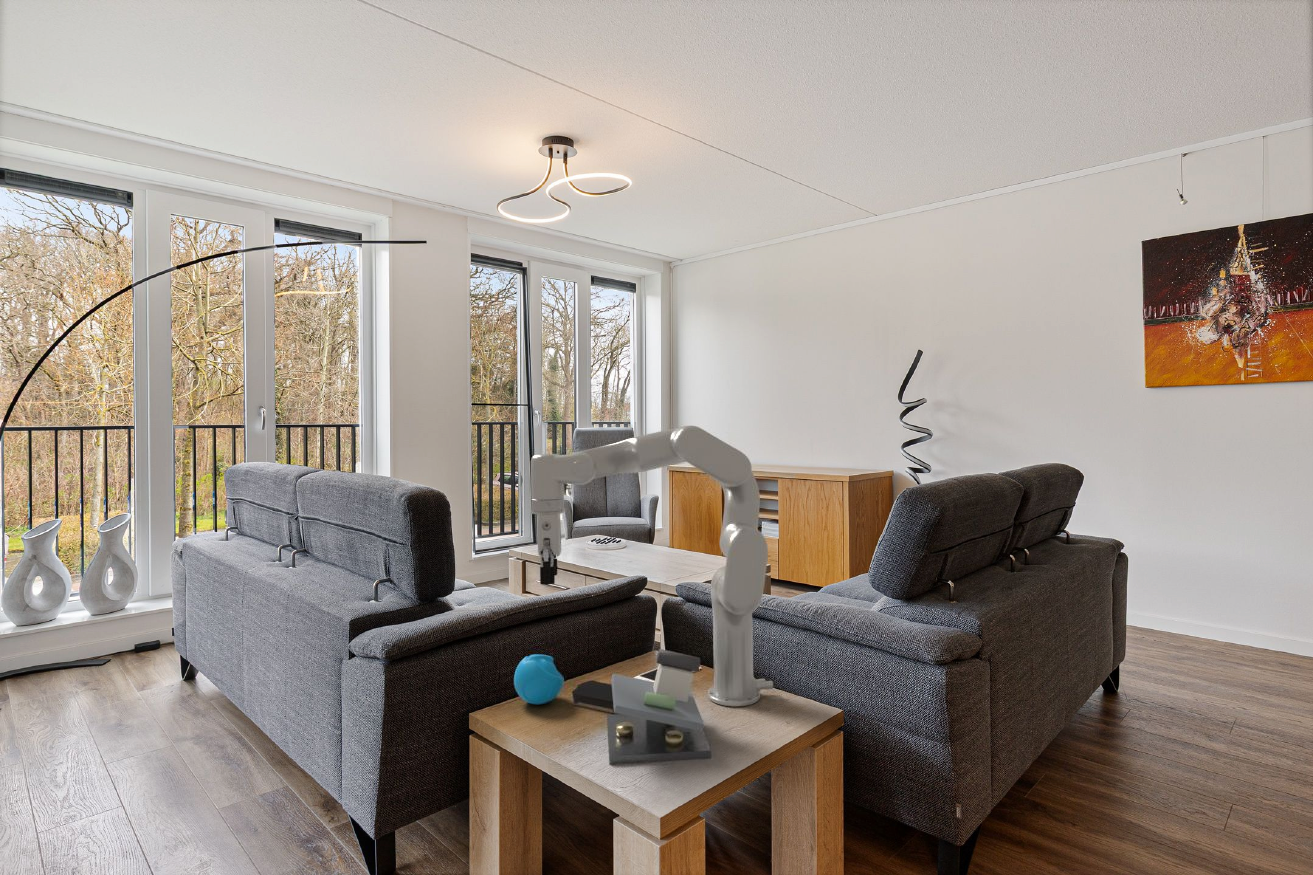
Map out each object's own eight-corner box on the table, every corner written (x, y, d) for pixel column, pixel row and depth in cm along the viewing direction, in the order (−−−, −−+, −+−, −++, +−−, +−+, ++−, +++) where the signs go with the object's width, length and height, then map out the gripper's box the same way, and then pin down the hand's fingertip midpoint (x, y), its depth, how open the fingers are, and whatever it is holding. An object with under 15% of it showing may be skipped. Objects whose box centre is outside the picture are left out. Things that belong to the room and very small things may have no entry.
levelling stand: (695, 716, 154) (694, 692, 154) (710, 757, 134) (710, 731, 134) (606, 721, 152) (606, 697, 152) (609, 764, 132) (608, 737, 132)
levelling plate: (687, 701, 153) (700, 650, 153) (700, 737, 135) (714, 679, 135) (609, 685, 151) (622, 633, 152) (612, 718, 133) (627, 660, 134)
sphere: (571, 705, 162) (570, 656, 162) (526, 716, 156) (525, 666, 156) (550, 689, 172) (549, 643, 172) (506, 700, 166) (506, 652, 165)
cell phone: (702, 670, 185) (702, 667, 185) (657, 689, 172) (657, 685, 172) (677, 663, 191) (677, 660, 191) (632, 680, 178) (632, 677, 178)
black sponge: (643, 705, 162) (643, 689, 162) (624, 718, 155) (624, 702, 155) (587, 693, 170) (587, 678, 170) (567, 705, 163) (566, 690, 163)
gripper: (561, 510, 151) (563, 587, 151) (565, 502, 168) (567, 571, 168) (527, 511, 150) (529, 588, 150) (535, 503, 168) (536, 572, 168)
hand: (549, 579), depth 159 cm, fingers open, 9 cm apart
